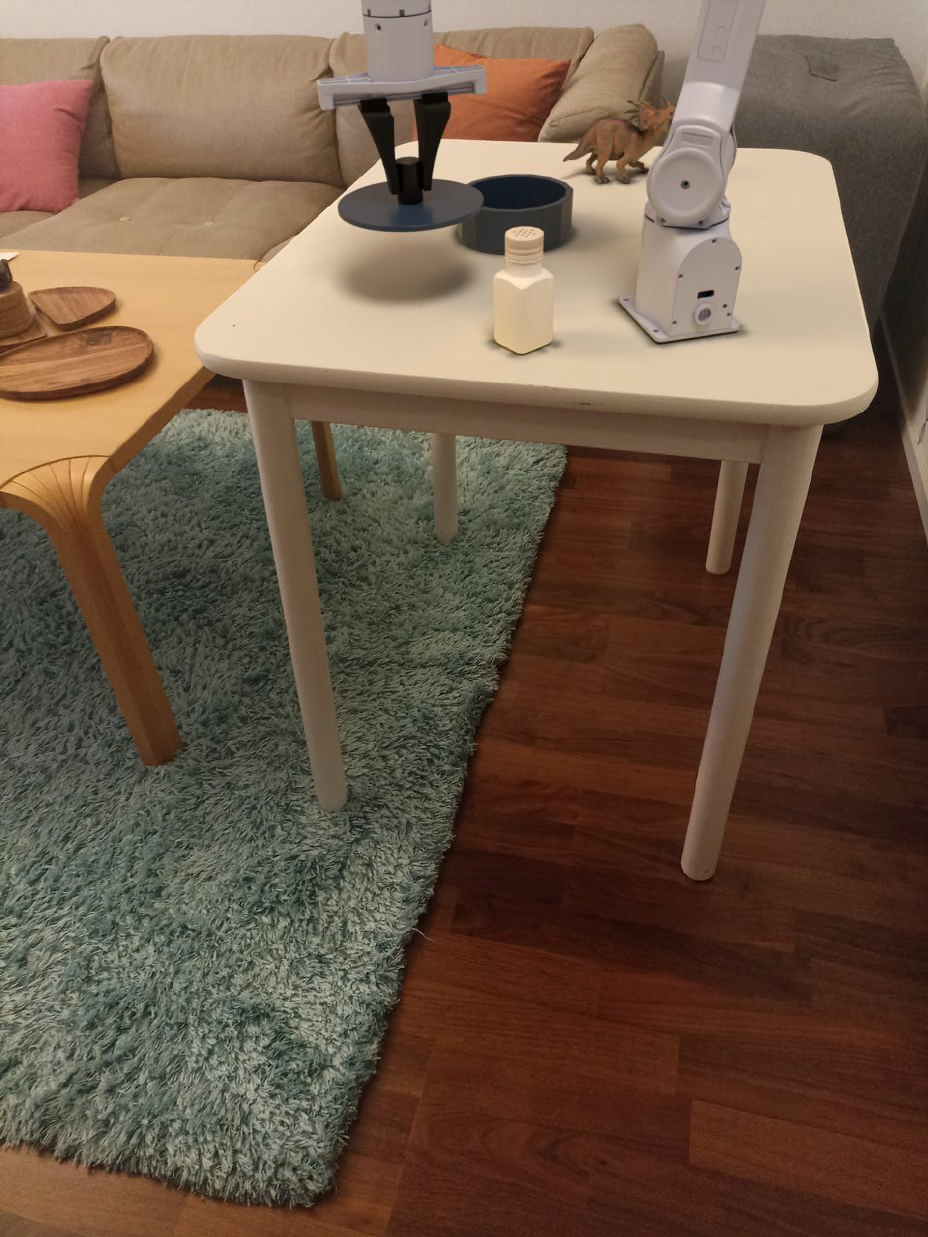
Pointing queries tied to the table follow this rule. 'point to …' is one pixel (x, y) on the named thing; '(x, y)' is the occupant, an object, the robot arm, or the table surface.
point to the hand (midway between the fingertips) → (410, 189)
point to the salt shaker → (523, 293)
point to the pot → (519, 211)
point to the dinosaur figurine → (623, 139)
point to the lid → (410, 203)
